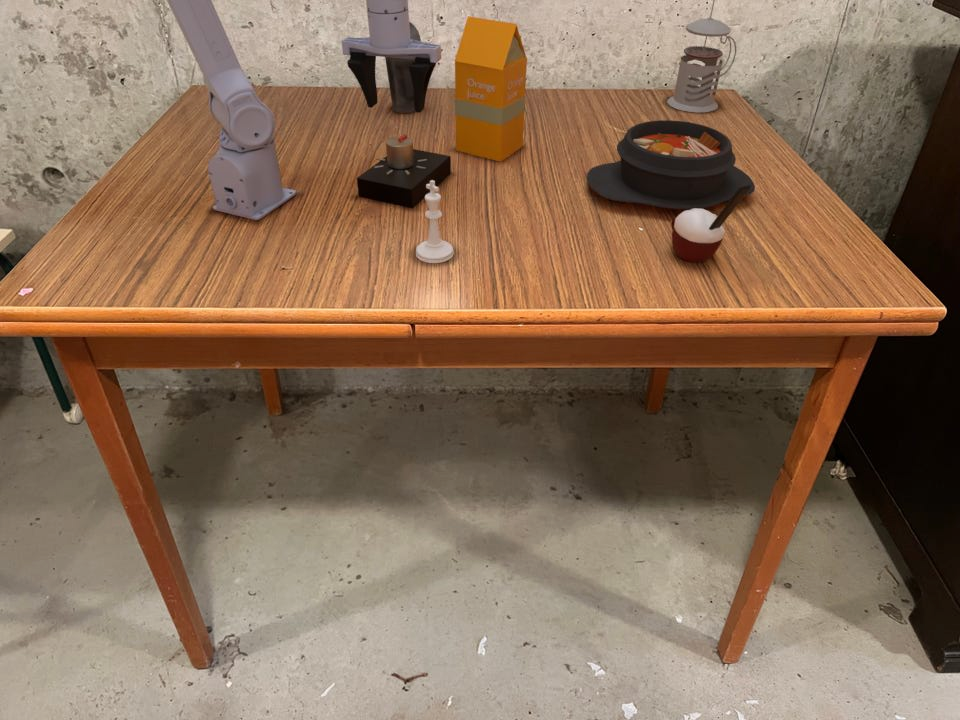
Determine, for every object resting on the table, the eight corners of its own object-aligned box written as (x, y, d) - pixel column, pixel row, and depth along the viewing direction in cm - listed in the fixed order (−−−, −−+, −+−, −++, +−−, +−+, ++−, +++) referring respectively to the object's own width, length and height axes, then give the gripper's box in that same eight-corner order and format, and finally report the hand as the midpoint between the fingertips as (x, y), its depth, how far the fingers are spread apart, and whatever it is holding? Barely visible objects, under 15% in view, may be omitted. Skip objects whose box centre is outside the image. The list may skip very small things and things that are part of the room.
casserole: (722, 163, 112) (735, 112, 107) (773, 217, 98) (790, 160, 93) (573, 169, 110) (578, 117, 105) (602, 225, 96) (610, 167, 90)
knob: (406, 171, 101) (404, 146, 99) (382, 166, 103) (380, 141, 100) (418, 161, 104) (417, 136, 102) (395, 156, 105) (393, 132, 103)
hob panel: (412, 208, 99) (411, 188, 97) (355, 196, 102) (352, 176, 100) (451, 174, 108) (450, 154, 106) (397, 163, 111) (396, 144, 109)
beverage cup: (380, 105, 132) (371, -11, 119) (416, 100, 134) (411, -14, 122) (393, 117, 127) (385, -3, 114) (430, 112, 129) (426, -6, 117)
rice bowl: (659, 240, 92) (676, 154, 85) (704, 238, 93) (725, 153, 85) (681, 278, 85) (703, 188, 78) (730, 276, 86) (756, 186, 78)
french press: (658, 97, 137) (683, -46, 121) (708, 92, 140) (739, -49, 124) (683, 114, 130) (713, -36, 114) (736, 109, 133) (772, -39, 117)
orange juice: (478, 135, 120) (480, 11, 108) (523, 146, 117) (529, 18, 104) (454, 150, 115) (453, 21, 103) (500, 162, 112) (504, 29, 99)
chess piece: (433, 240, 92) (431, 169, 85) (461, 252, 89) (461, 180, 83) (407, 254, 89) (403, 182, 82) (436, 267, 86) (433, 193, 80)
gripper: (446, 5, 96) (450, 103, 105) (352, -1, 99) (363, 94, 108) (429, 18, 91) (434, 119, 100) (330, 10, 94) (343, 109, 103)
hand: (396, 107), depth 104 cm, fingers open, 7 cm apart
